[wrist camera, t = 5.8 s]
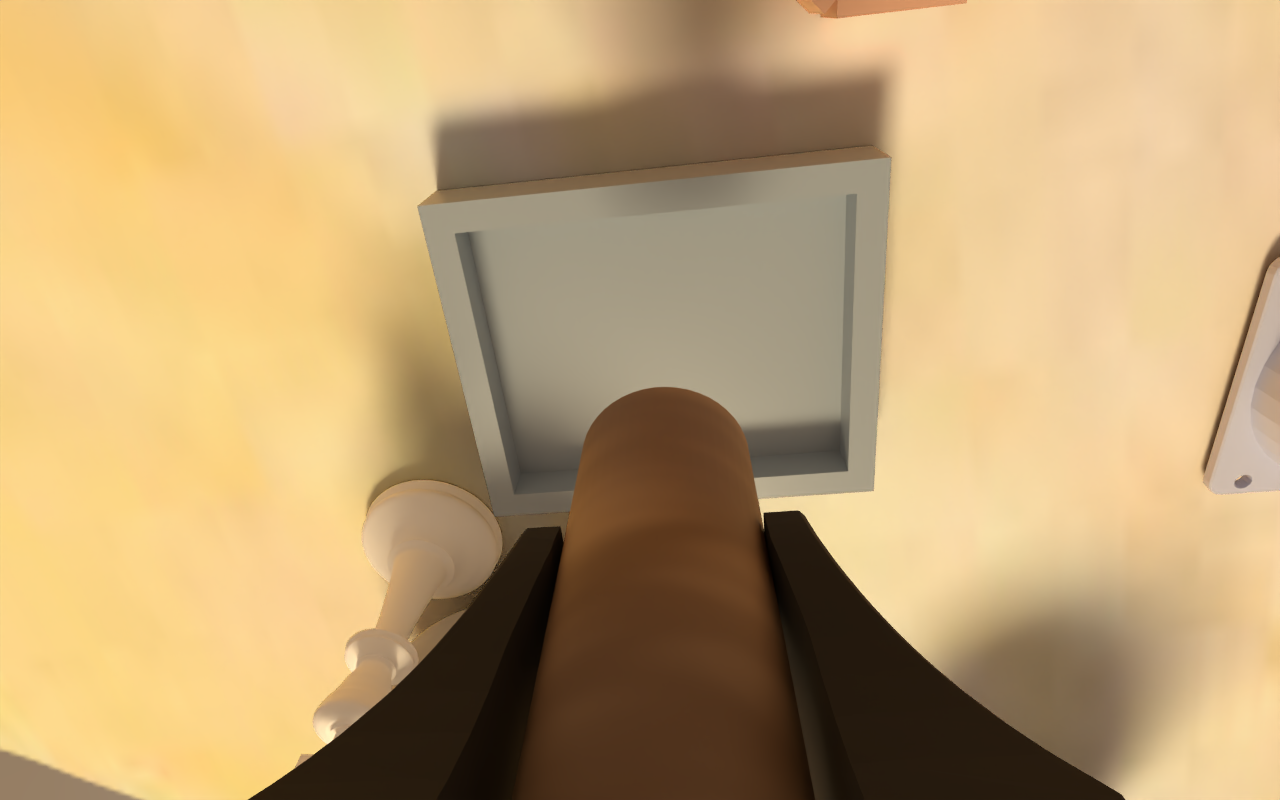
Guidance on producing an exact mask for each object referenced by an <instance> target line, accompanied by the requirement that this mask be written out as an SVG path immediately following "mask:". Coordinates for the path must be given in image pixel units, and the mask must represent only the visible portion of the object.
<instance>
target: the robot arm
mask: <svg viewBox="0 0 1280 800" xmlns="http://www.w3.org/2000/svg"><path fill="white" fill-rule="evenodd" d="M1240 476H1242V477H1241V478H1240V479H1238V480H1236V479H1237V478H1239V477H1240ZM1203 483H1204V485H1205V486H1206V487H1207V488H1208V489H1209V490H1210V491H1211V492H1213V493H1215V494H1221V495H1223V494H1238V493H1254V492H1269V491H1280V257H1279V258H1277V259H1275V260H1274V261H1273V262H1272V263H1271V265H1270V266H1269V268H1268V270H1267V272H1266V275H1265V278H1264V282H1263V285H1262V288H1261V291H1260V295H1259V298H1258V301H1257V304H1256V308H1255V311H1254V314H1253V317H1252V321H1251V324H1250V327H1249V331H1248V334H1247V337H1246V340H1245V344H1244V347H1243V350H1242V353H1241V357H1240V360H1239V363H1238V366H1237V370H1236V373H1235V376H1234V379H1233V383H1232V386H1231V389H1230V393H1229V396H1228V399H1227V402H1226V406H1225V409H1224V412H1223V415H1222V419H1221V422H1220V425H1219V428H1218V432H1217V435H1216V438H1215V441H1214V445H1213V448H1212V451H1211V454H1210V458H1209V461H1208V464H1207V468H1206V471H1205V474H1204V477H1203ZM764 533H765V539H766V544H767V549H768V554H769V560H770V565H771V570H772V575H773V581H774V586H775V591H776V596H777V602H778V607H779V612H780V617H781V623H782V628H783V633H784V638H785V644H786V649H787V654H788V659H789V665H790V670H791V675H792V680H793V685H794V691H795V696H796V701H797V706H798V712H799V717H800V722H801V727H802V733H803V738H804V743H805V748H806V754H807V759H808V764H809V769H810V775H811V780H812V785H813V790H814V796H815V800H1125V799H1124V797H1123V796H1122V795H1121V794H1120V793H1118V792H1116V791H1115V790H1113V789H1111V788H1110V787H1108V786H1106V785H1104V784H1103V783H1101V782H1099V781H1098V780H1096V779H1094V778H1093V777H1091V776H1089V775H1087V774H1086V773H1084V772H1082V771H1081V770H1079V769H1077V768H1075V767H1074V766H1072V765H1070V764H1069V763H1067V762H1065V761H1063V760H1062V759H1060V758H1058V757H1057V756H1055V755H1053V754H1052V753H1050V752H1048V751H1047V750H1045V749H1044V748H1042V747H1041V746H1039V745H1038V744H1036V743H1035V742H1033V741H1032V740H1030V739H1029V738H1027V737H1026V736H1024V735H1023V734H1021V733H1020V732H1018V731H1017V730H1015V729H1014V728H1012V727H1011V726H1009V725H1008V724H1006V723H1005V722H1004V721H1002V720H1001V719H1000V718H998V717H997V716H996V715H994V714H993V713H992V712H990V711H989V710H988V709H986V708H985V707H984V706H982V705H981V704H980V703H978V702H977V701H976V700H974V699H973V698H972V697H970V696H969V695H968V694H966V693H965V692H964V691H962V690H961V689H960V688H959V687H957V686H956V685H955V684H954V683H953V682H952V681H950V680H949V679H948V678H947V677H946V676H945V675H943V674H942V673H941V672H940V671H939V670H937V669H936V668H935V667H934V666H933V665H932V664H931V663H930V662H928V661H927V660H926V659H925V658H924V657H923V656H922V655H921V654H920V653H919V652H917V651H916V650H915V649H914V648H913V647H912V646H911V645H910V644H909V643H908V642H907V641H906V640H905V639H904V638H903V637H902V636H901V635H900V634H899V633H898V632H897V631H896V630H895V629H894V628H893V627H892V626H891V625H890V624H889V623H888V622H887V621H886V620H885V619H884V618H883V617H882V615H881V614H880V613H879V612H878V611H877V610H876V609H875V608H874V607H873V606H872V605H871V603H870V602H869V601H868V600H867V599H866V598H865V597H864V596H863V594H862V593H861V592H860V591H859V590H858V588H857V587H856V586H855V585H854V584H853V582H852V581H851V580H850V579H849V577H848V576H847V575H846V574H845V573H844V571H843V570H842V569H841V568H840V566H839V565H838V564H837V562H836V561H835V560H834V559H833V557H832V556H831V554H830V553H829V552H828V550H827V549H826V548H825V546H824V545H823V543H822V542H821V540H820V539H819V538H818V536H817V535H816V533H815V532H814V530H813V528H812V527H811V525H810V524H809V522H808V520H807V519H806V517H805V515H803V514H802V513H801V512H800V511H784V512H769V513H764ZM562 548H563V537H562V532H561V527H560V526H557V527H541V528H527V529H526V530H525V532H524V533H523V534H522V535H521V537H520V538H519V539H518V541H517V542H516V544H515V545H514V546H513V548H512V549H511V551H510V552H509V553H508V555H507V556H506V558H505V559H504V561H503V562H502V563H501V565H500V566H499V567H498V569H497V570H496V572H495V573H494V574H493V576H492V577H491V578H490V580H489V581H488V582H487V584H486V585H485V586H484V588H483V589H482V590H481V591H480V593H479V594H478V595H477V597H476V598H475V599H474V600H473V602H472V603H471V604H470V606H469V607H468V608H467V609H466V611H465V612H464V613H463V614H462V616H461V617H460V618H459V619H458V620H457V621H456V623H455V624H454V625H453V626H452V627H451V628H450V629H449V631H448V632H447V633H446V634H445V635H444V636H443V638H442V639H441V640H440V641H439V642H438V643H437V645H436V646H435V647H434V648H433V649H432V650H431V651H430V652H429V653H428V654H427V655H426V657H425V658H424V659H423V660H422V661H421V662H420V663H419V664H418V665H417V666H416V667H415V668H414V669H413V670H412V671H411V672H410V673H409V674H408V675H407V676H406V677H405V678H404V679H403V680H402V681H401V682H400V683H399V684H398V685H397V686H396V687H395V688H394V689H393V690H392V691H391V692H389V693H388V694H387V695H386V696H385V697H384V698H383V699H381V700H380V701H379V702H378V703H377V704H376V705H374V706H373V707H372V708H371V709H370V710H369V711H367V712H366V713H365V714H364V715H363V716H362V717H360V718H359V719H358V720H357V721H356V722H354V723H353V724H352V725H351V726H350V727H349V728H347V729H346V730H345V731H344V732H343V733H341V734H340V735H339V736H338V737H336V738H335V739H334V740H332V741H331V742H330V743H328V744H327V745H326V746H325V747H323V748H322V749H321V750H319V751H318V752H317V753H315V754H314V755H313V756H311V757H310V758H308V759H307V760H306V761H304V762H303V763H302V764H300V765H299V766H297V767H296V768H295V769H293V770H292V771H290V772H289V773H288V774H286V775H285V776H283V777H282V778H280V779H279V780H277V781H276V782H274V783H273V784H272V785H270V786H269V787H267V788H265V789H264V790H262V791H261V792H259V793H258V794H256V795H254V796H253V797H251V798H250V799H248V800H512V796H513V791H514V786H515V781H516V776H517V771H518V766H519V761H520V756H521V751H522V746H523V741H524V736H525V731H526V726H527V721H528V716H529V711H530V707H531V702H532V697H533V692H534V687H535V682H536V677H537V672H538V667H539V662H540V657H541V652H542V647H543V642H544V637H545V632H546V627H547V622H548V617H549V612H550V608H551V603H552V598H553V593H554V588H555V583H556V578H557V573H558V568H559V563H560V558H561V553H562Z"/></svg>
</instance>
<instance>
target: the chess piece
mask: <svg viewBox="0 0 1280 800" xmlns="http://www.w3.org/2000/svg"><path fill="white" fill-rule="evenodd" d="M502 544H503V543H502V534H501V530H500V527H499V524H498V522H497V520H496V518H495V517H494V515H493V514H492V512H491V511H490V510H489V509H488V507H487V506H486V505H485V504H484V503H483V502H482V501H480V500H479V499H478V498H477V497H475V496H474V495H472V494H471V493H469V492H467V491H466V490H464V489H461V488H459V487H457V486H454V485H452V484H448V483H445V482H440V481H434V480H413V481H407V482H403V483H400V484H397V485H394V486H392V487H390V488H388V489H387V490H385V491H384V492H382V493H381V494H380V495H379V496H378V497H377V498H376V499H375V500H374V501H373V503H372V504H371V506H370V508H369V510H368V512H367V515H366V519H365V521H364V524H363V528H362V546H363V549H364V553H365V555H366V557H367V559H368V561H369V563H370V564H371V566H372V567H373V568H374V570H375V571H376V572H377V573H378V574H379V575H380V576H381V577H382V578H383V579H384V580H386V581H387V582H388V583H389V586H388V590H387V593H386V597H385V600H384V604H383V607H382V610H381V614H380V617H379V619H378V622H377V625H376V628H373V629H365V630H362V631H359V632H357V633H355V634H354V635H353V636H351V638H350V639H349V640H348V642H347V644H346V648H345V662H346V664H347V666H348V668H349V669H350V671H351V672H352V673H351V674H350V675H349V676H347V678H346V679H345V680H344V681H343V682H342V684H341V685H340V686H339V687H338V688H337V689H336V690H335V691H334V692H332V693H331V694H330V695H329V696H328V697H327V698H326V699H325V700H324V701H323V702H322V703H321V704H320V705H319V707H318V708H317V709H316V711H315V713H314V716H313V727H314V730H315V732H316V733H317V735H318V736H319V738H320V739H321V740H322V741H323V742H325V743H326V744H328V743H330V742H331V741H332V740H334V739H335V738H336V737H338V736H339V735H340V734H341V733H343V732H344V731H345V730H346V729H347V728H349V727H350V726H351V725H352V724H353V723H354V722H356V721H357V720H358V719H359V718H360V717H362V716H363V715H364V714H365V713H366V712H367V711H369V710H370V709H371V708H372V707H373V706H374V705H376V704H377V703H378V702H379V701H380V700H381V699H383V698H384V697H385V696H386V695H387V694H388V693H389V692H391V691H392V685H397V684H399V683H400V682H401V681H402V680H403V679H404V678H405V677H406V676H407V675H408V674H409V673H410V672H411V671H412V670H413V669H414V668H415V667H416V666H417V665H418V662H419V658H418V653H417V651H416V649H415V647H414V646H413V645H412V643H411V642H410V641H408V638H409V636H410V634H411V633H412V631H413V629H414V627H415V625H416V623H417V622H418V620H419V618H420V617H421V615H422V613H423V612H424V610H425V608H426V607H427V605H428V603H429V602H430V600H431V598H432V599H446V598H454V597H458V596H462V595H465V594H467V593H470V592H472V591H474V590H475V589H477V588H478V587H480V586H481V585H482V584H483V583H484V582H485V581H486V580H487V579H488V578H489V577H490V575H491V574H492V572H493V570H494V568H495V566H496V564H497V563H498V561H499V558H500V556H501V552H502ZM311 756H313V754H301V756H300V758H299V760H298V762H297V764H296V766H295V768H296V767H297V766H299V765H300V764H302V763H303V762H304V761H306V760H307V759H308V758H310V757H311ZM295 768H294V769H295Z"/></svg>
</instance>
